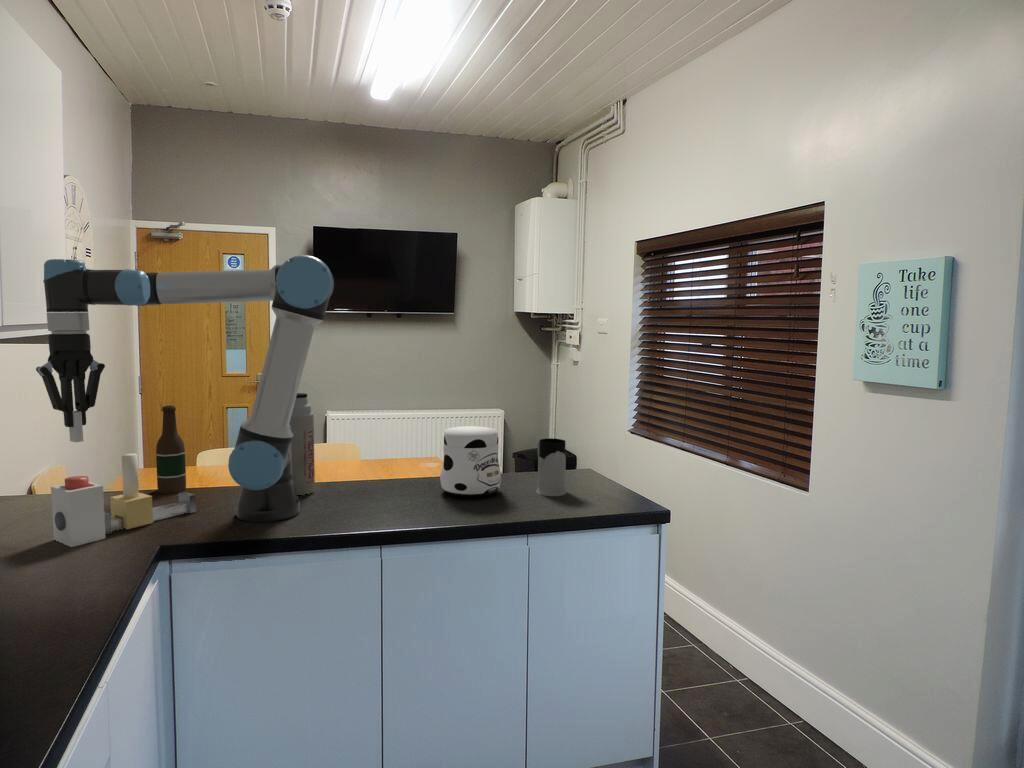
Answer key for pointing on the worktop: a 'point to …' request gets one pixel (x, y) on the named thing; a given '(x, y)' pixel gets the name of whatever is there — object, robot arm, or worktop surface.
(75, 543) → the white button housing
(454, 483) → the milk container
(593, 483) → the worktop surface
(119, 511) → the carriage
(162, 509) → the rail
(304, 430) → the thermos bottle
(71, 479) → the gauge button
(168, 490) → the beer bottle
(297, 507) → the robot arm
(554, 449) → the glass holder
